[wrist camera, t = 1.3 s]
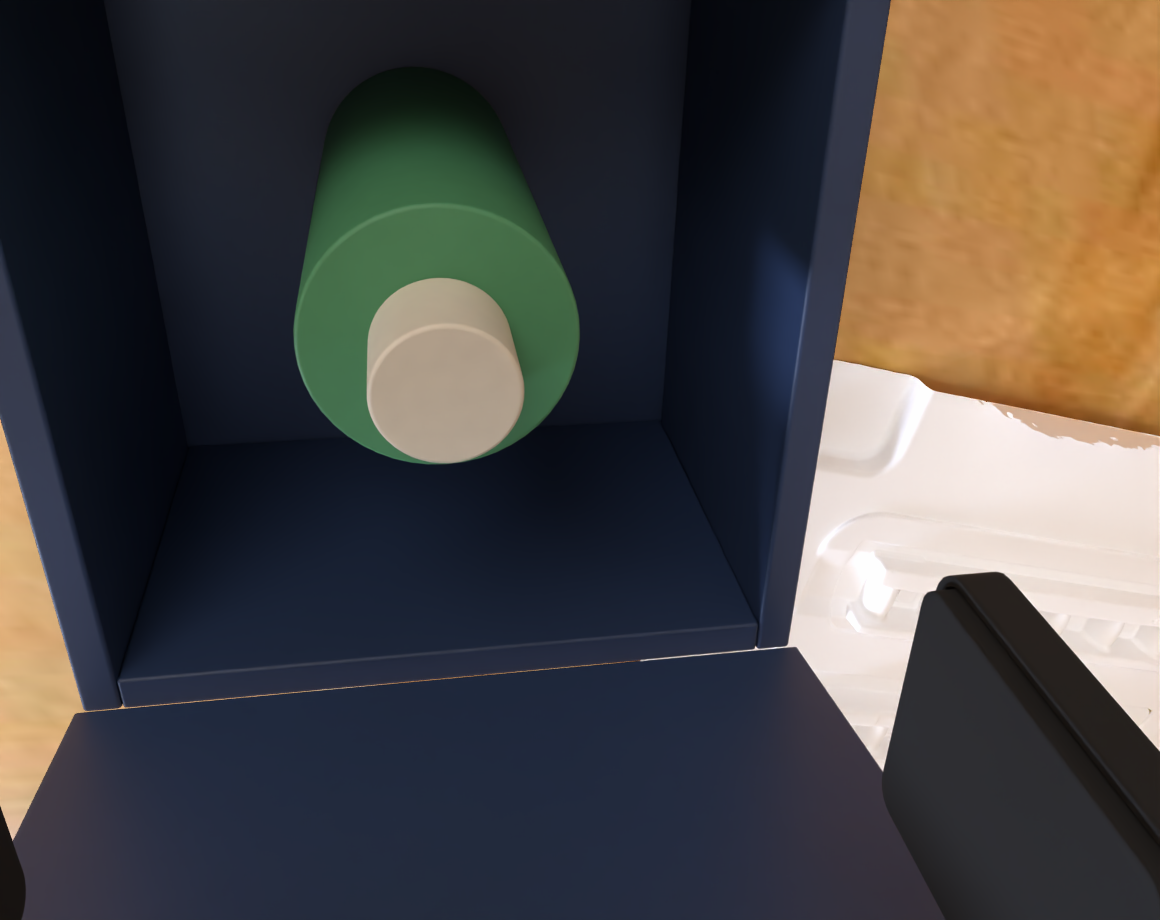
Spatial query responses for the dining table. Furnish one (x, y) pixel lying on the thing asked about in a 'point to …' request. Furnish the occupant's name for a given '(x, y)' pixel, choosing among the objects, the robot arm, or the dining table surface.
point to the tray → (973, 537)
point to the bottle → (430, 278)
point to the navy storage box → (322, 451)
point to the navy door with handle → (478, 803)
